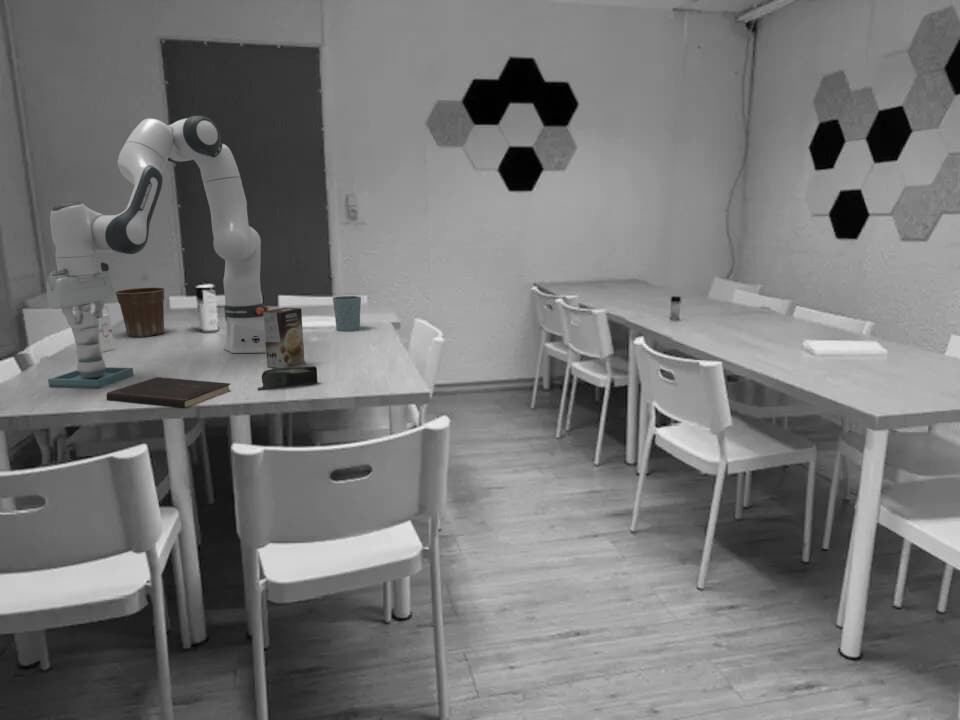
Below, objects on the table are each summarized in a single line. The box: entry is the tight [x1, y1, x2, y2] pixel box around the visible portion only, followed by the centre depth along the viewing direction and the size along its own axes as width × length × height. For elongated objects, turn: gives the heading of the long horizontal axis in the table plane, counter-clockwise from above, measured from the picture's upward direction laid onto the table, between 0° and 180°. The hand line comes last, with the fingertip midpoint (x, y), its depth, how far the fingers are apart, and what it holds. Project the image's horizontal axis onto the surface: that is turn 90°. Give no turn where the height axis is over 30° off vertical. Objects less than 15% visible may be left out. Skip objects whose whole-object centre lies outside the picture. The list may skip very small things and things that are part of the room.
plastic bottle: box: [70, 303, 107, 379], centre depth 178 cm, size 6×7×20 cm
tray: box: [47, 366, 134, 389], centre depth 180 cm, size 14×14×2 cm
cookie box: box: [263, 307, 306, 368], centre depth 194 cm, size 9×6×16 cm
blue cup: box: [332, 295, 362, 333], centre depth 250 cm, size 10×10×12 cm
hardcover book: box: [106, 376, 232, 409], centre depth 165 cm, size 16×23×2 cm
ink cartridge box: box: [90, 303, 115, 353], centre depth 218 cm, size 9×5×15 cm, turn 65°
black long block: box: [257, 365, 318, 391], centre depth 172 cm, size 5×3×15 cm
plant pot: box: [114, 287, 166, 338], centre depth 244 cm, size 16×16×16 cm
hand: (86, 321), depth 176 cm, fingers open, 8 cm apart
